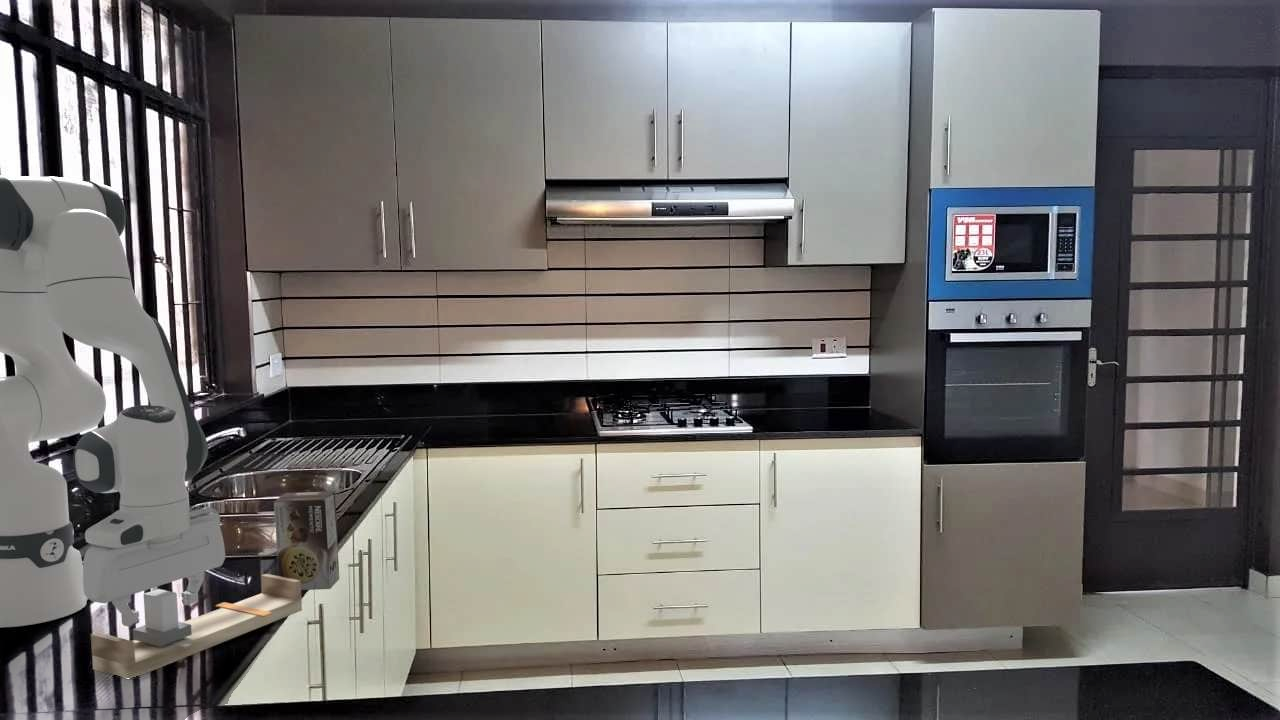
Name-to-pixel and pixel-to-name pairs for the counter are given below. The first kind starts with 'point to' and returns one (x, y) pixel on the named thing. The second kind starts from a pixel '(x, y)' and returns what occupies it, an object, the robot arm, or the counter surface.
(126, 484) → the robot arm
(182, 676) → the counter surface
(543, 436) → the counter surface
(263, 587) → the fader track
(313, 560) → the coffee box
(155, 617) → the fader tab
